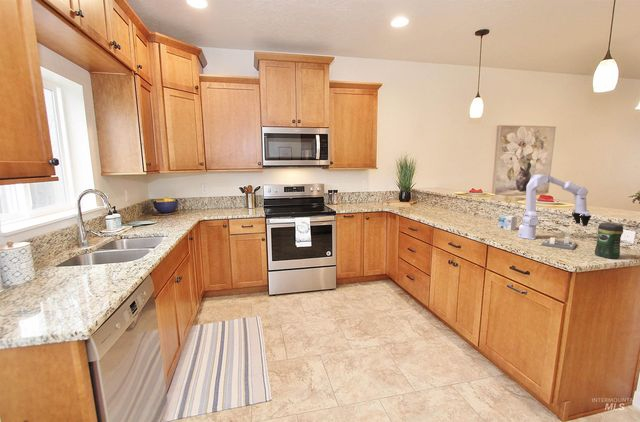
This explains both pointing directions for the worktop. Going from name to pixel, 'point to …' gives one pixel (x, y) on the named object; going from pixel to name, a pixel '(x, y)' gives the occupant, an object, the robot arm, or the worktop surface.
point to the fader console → (560, 244)
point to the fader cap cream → (552, 240)
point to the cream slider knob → (566, 240)
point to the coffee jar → (609, 240)
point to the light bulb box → (507, 222)
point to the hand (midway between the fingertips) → (581, 224)
